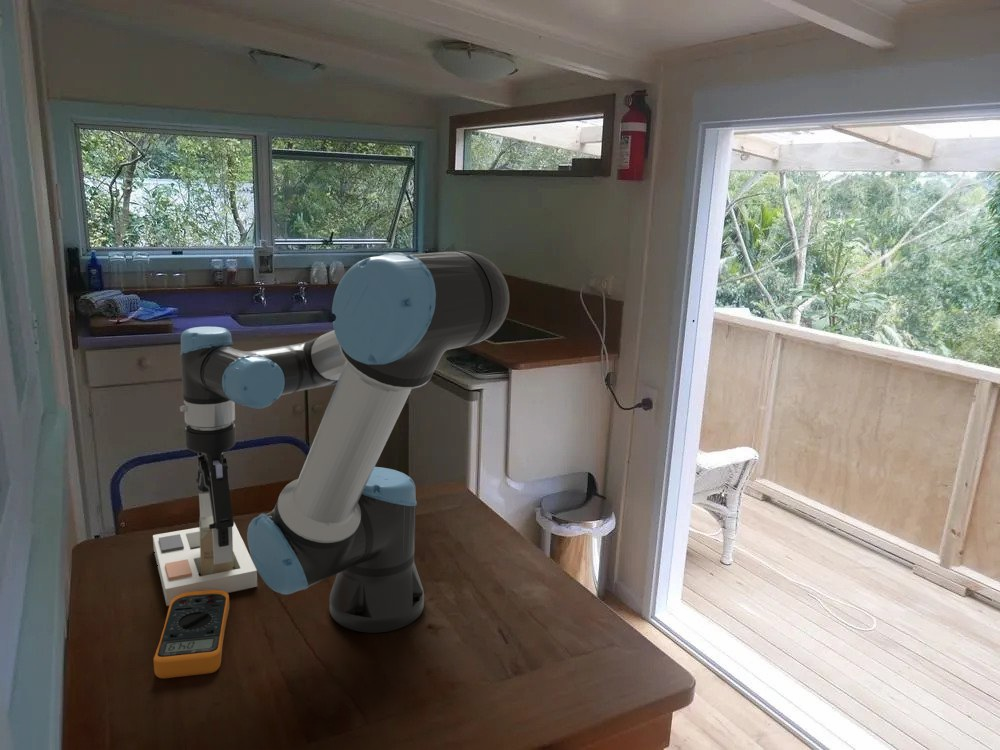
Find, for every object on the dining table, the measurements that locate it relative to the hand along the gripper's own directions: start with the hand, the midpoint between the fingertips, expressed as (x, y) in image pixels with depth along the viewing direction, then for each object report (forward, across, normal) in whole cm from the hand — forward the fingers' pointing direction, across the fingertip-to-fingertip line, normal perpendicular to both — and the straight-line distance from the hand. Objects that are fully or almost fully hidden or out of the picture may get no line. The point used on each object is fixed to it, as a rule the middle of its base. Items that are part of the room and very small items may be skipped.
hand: (215, 543), depth 124 cm
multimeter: (+7, +16, -6) cm, 18 cm away
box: (+7, 0, 0) cm, 7 cm away
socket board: (+7, -5, -2) cm, 8 cm away
